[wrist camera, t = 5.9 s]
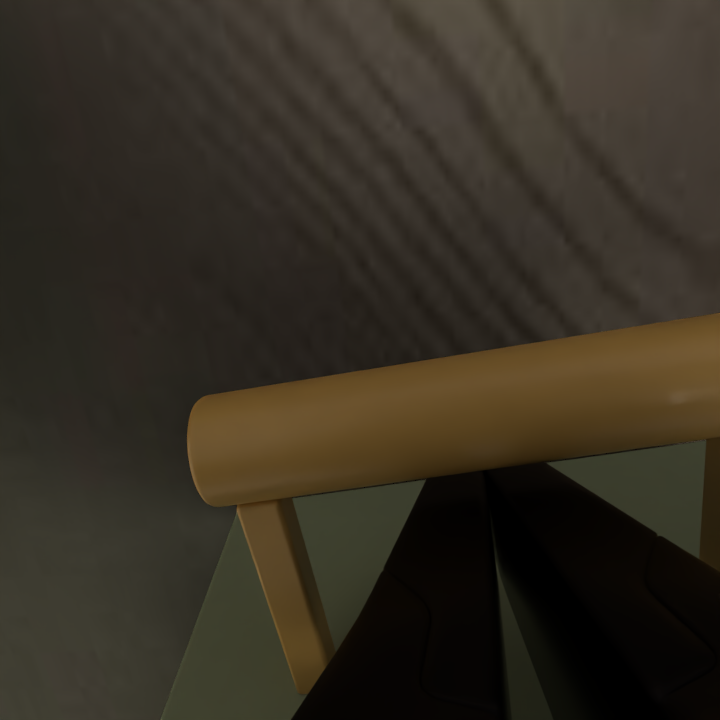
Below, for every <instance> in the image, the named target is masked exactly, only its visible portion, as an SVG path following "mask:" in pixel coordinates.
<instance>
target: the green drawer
mask: <svg viewBox="0 0 720 720" xmlns="http://www.w3.org/2000/svg"><path fill="white" fill-rule="evenodd" d="M704 439H706V441H699V442H692V443H685V444H678V445H671V446H663V447H656V448H649V449H642V450H635V451H628V452H620V453H613V454H606V455H599V456H592V457H584V458H577V459H570V460H563V461H556V462H549V463H547V464H549V465H550V466H552V467H553V468H555V469H557V470H558V471H560V472H561V473H563V474H564V475H566V476H568V477H569V478H571V479H572V480H574V481H576V482H577V483H579V484H580V485H582V486H583V487H585V488H587V489H588V490H590V491H591V492H593V493H595V494H596V495H598V496H599V497H601V498H602V499H604V500H606V501H607V502H609V503H610V504H612V505H614V506H615V507H617V508H618V509H620V510H621V511H623V512H625V513H626V514H628V515H629V516H631V517H633V518H634V519H636V520H637V521H639V522H640V523H642V524H644V525H645V526H647V527H648V528H650V529H652V530H653V531H655V532H656V533H657V535H658V536H663V537H665V538H666V539H668V540H669V541H671V542H673V543H674V544H676V545H677V546H679V547H681V548H682V549H684V550H685V551H687V552H689V553H690V554H692V555H694V556H695V557H697V558H699V559H700V560H702V561H704V562H705V563H707V564H709V565H710V566H712V567H714V568H715V569H717V570H719V571H720V313H715V314H709V315H703V316H697V317H690V318H684V319H678V320H672V321H666V322H659V323H653V324H647V325H641V326H635V327H628V328H622V329H616V330H610V331H603V332H597V333H591V334H585V335H579V336H572V337H566V338H560V339H554V340H548V341H541V342H535V343H529V344H523V345H516V346H510V347H504V348H498V349H492V350H485V351H479V352H473V353H467V354H461V355H454V356H448V357H442V358H436V359H429V360H423V361H417V362H411V363H405V364H398V365H392V366H386V367H380V368H373V369H367V370H361V371H355V372H349V373H342V374H336V375H330V376H324V377H318V378H311V379H305V380H299V381H293V382H286V383H280V384H274V385H268V386H262V387H255V388H249V389H243V390H237V391H231V392H224V393H218V394H212V395H206V396H204V397H202V398H201V399H199V400H198V401H197V402H196V403H195V404H194V406H193V408H192V411H191V414H190V417H189V422H188V430H187V449H188V459H189V465H190V470H191V474H192V477H193V480H194V483H195V486H196V488H197V490H198V492H199V494H200V496H201V497H202V499H203V500H204V501H205V502H206V503H207V504H209V505H211V506H215V507H224V506H231V505H237V513H236V516H235V518H234V521H233V524H232V527H231V529H230V532H229V535H228V537H227V540H226V543H225V546H224V548H223V551H222V554H221V556H220V559H219V562H218V565H217V567H216V570H215V573H214V575H213V578H212V581H211V583H210V586H209V589H208V592H207V594H206V597H205V600H204V602H203V605H202V608H201V611H200V613H199V616H198V619H197V621H196V624H195V627H194V630H193V632H192V635H191V638H190V640H189V643H188V646H187V648H186V651H185V654H184V657H183V659H182V662H181V665H180V667H179V670H178V673H177V676H176V678H175V681H174V684H173V686H172V689H171V692H170V695H169V697H168V700H167V703H166V705H165V708H164V711H163V714H162V716H161V719H160V720H291V718H292V717H293V715H294V714H295V712H296V711H297V709H298V708H299V706H300V705H301V703H302V702H303V700H304V699H305V697H306V696H307V694H308V693H309V691H310V690H311V689H312V687H313V686H314V684H315V683H316V681H317V680H318V678H319V677H320V675H321V674H322V672H323V671H324V669H325V668H326V666H327V665H328V663H329V662H330V660H331V659H332V657H333V656H334V654H335V653H336V651H337V650H338V648H339V646H340V645H341V643H342V642H343V640H344V639H345V637H346V635H347V634H348V632H349V631H350V629H351V627H352V626H353V624H354V623H355V621H356V620H357V618H358V616H359V614H360V612H361V610H362V608H363V607H364V605H365V603H366V601H367V599H368V597H369V595H370V594H371V592H372V590H373V587H374V585H375V583H376V581H377V579H378V577H379V575H380V573H381V572H382V571H383V567H384V565H385V563H386V561H387V559H388V557H389V555H390V553H391V551H392V549H393V547H394V545H395V543H396V541H397V539H398V537H399V535H400V532H401V530H402V528H403V526H404V524H405V522H406V520H407V518H408V516H409V514H410V512H411V510H412V508H413V506H414V504H415V502H416V500H417V497H418V495H419V493H420V491H421V489H422V487H423V485H424V483H425V481H426V480H419V481H412V482H405V483H398V484H391V485H383V486H376V487H369V488H362V489H355V490H348V491H340V492H333V493H326V494H319V495H312V496H305V497H297V498H292V497H296V496H303V495H310V494H317V493H324V492H331V491H339V490H346V489H353V488H360V487H367V486H374V485H381V484H389V483H396V482H403V481H410V480H417V479H424V478H432V477H439V476H446V475H453V474H460V473H467V472H475V471H482V470H489V469H496V468H503V467H510V466H518V465H525V464H532V463H539V462H546V461H553V460H561V459H568V458H575V457H582V456H589V455H596V454H604V453H611V452H618V451H625V450H632V449H639V448H647V447H654V446H661V445H668V444H675V443H682V442H690V441H697V440H704ZM495 560H496V559H495ZM496 568H497V576H498V585H499V593H500V603H501V613H502V623H503V634H504V644H505V654H506V664H507V674H508V684H509V694H510V705H511V715H512V720H553V717H552V715H551V712H550V709H549V707H548V704H547V701H546V699H545V696H544V693H543V691H542V688H541V685H540V683H539V680H538V677H537V675H536V672H535V669H534V667H533V664H532V661H531V659H530V656H529V653H528V651H527V648H526V645H525V643H524V640H523V638H522V635H521V632H520V630H519V627H518V624H517V622H516V619H515V616H514V614H513V611H512V608H511V606H510V603H509V600H508V598H507V595H506V592H505V589H504V586H503V584H502V581H501V578H500V574H499V570H498V567H497V563H496Z"/></svg>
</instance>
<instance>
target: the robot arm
mask: <svg viewBox="0 0 720 720" xmlns="http://www.w3.org/2000/svg"><path fill="white" fill-rule="evenodd" d="M495 559H496V560H495ZM496 563H497V567H498V570H499V574H500V578H501V581H502V584H503V586H504V589H505V592H506V595H507V598H508V600H509V603H510V606H511V608H512V611H513V614H514V616H515V619H516V622H517V624H518V627H519V630H520V632H521V635H522V638H523V640H524V643H525V645H526V648H527V651H528V653H529V656H530V659H531V661H532V664H533V667H534V669H535V672H536V675H537V677H538V680H539V683H540V685H541V688H542V691H543V693H544V696H545V699H546V701H547V704H548V707H549V709H550V712H551V715H552V717H553V720H720V571H719V570H717V569H715V568H714V567H712V566H710V565H709V564H707V563H705V562H704V561H702V560H700V559H699V558H697V557H695V556H694V555H692V554H690V553H689V552H687V551H685V550H684V549H682V548H681V547H679V546H677V545H676V544H674V543H673V542H671V541H669V540H668V539H666V538H665V537H663V536H658V535H657V533H656V532H655V531H653V530H652V529H650V528H648V527H647V526H645V525H644V524H642V523H640V522H639V521H637V520H636V519H634V518H633V517H631V516H629V515H628V514H626V513H625V512H623V511H621V510H620V509H618V508H617V507H615V506H614V505H612V504H610V503H609V502H607V501H606V500H604V499H602V498H601V497H599V496H598V495H596V494H595V493H593V492H591V491H590V490H588V489H587V488H585V487H583V486H582V485H580V484H579V483H577V482H576V481H574V480H572V479H571V478H569V477H568V476H566V475H564V474H563V473H561V472H560V471H558V470H557V469H555V468H553V467H552V466H550V465H549V464H547V463H545V462H539V463H532V464H525V465H518V466H510V467H503V468H496V469H489V470H482V471H475V472H467V473H460V474H453V475H446V476H439V477H432V478H427V479H426V481H425V483H424V485H423V487H422V489H421V491H420V493H419V495H418V497H417V500H416V502H415V504H414V506H413V508H412V510H411V512H410V514H409V516H408V518H407V520H406V522H405V524H404V526H403V528H402V530H401V532H400V535H399V537H398V539H397V541H396V543H395V545H394V547H393V549H392V551H391V553H390V555H389V557H388V559H387V561H386V563H385V565H384V567H383V571H382V572H381V573H380V575H379V577H378V579H377V581H376V583H375V585H374V587H373V590H372V592H371V594H370V595H369V597H368V599H367V601H366V603H365V605H364V607H363V608H362V610H361V612H360V614H359V616H358V618H357V620H356V621H355V623H354V624H353V626H352V627H351V629H350V631H349V632H348V634H347V635H346V637H345V639H344V640H343V642H342V643H341V645H340V646H339V648H338V650H337V651H336V653H335V654H334V656H333V657H332V659H331V660H330V662H329V663H328V665H327V666H326V668H325V669H324V671H323V672H322V674H321V675H320V677H319V678H318V680H317V681H316V683H315V684H314V686H313V687H312V689H311V690H310V691H309V693H308V694H307V696H306V697H305V699H304V700H303V702H302V703H301V705H300V706H299V708H298V709H297V711H296V712H295V714H294V715H293V717H292V718H291V720H512V715H511V705H510V694H509V684H508V674H507V664H506V654H505V644H504V634H503V623H502V613H501V603H500V593H499V585H498V576H497V568H496Z"/></svg>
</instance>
